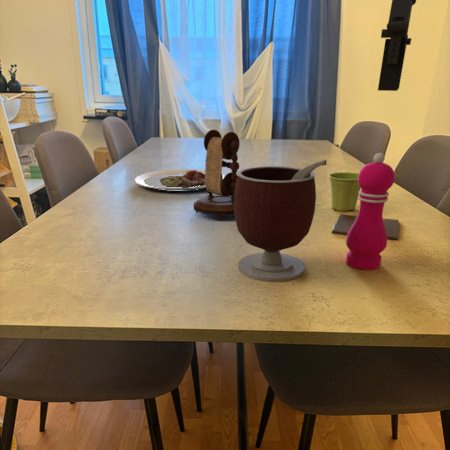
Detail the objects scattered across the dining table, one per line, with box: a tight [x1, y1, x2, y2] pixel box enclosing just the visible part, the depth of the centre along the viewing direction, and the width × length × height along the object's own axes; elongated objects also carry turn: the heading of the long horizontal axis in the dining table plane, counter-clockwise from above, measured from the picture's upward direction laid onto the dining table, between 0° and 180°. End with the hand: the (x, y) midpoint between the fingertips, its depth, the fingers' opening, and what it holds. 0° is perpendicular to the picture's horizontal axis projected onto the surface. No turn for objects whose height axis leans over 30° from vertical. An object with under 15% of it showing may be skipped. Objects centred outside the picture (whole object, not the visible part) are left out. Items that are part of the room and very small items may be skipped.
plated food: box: [134, 168, 226, 191], centre depth 142 cm, size 30×30×3 cm
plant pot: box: [328, 171, 361, 212], centre depth 114 cm, size 9×9×9 cm
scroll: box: [193, 129, 241, 221], centre depth 107 cm, size 15×15×20 cm
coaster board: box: [331, 213, 399, 241], centre depth 101 cm, size 14×14×1 cm
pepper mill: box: [345, 152, 395, 271], centre depth 77 cm, size 7×7×20 cm
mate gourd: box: [234, 159, 327, 283], centre depth 75 cm, size 16×14×20 cm
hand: (389, 90), depth 69 cm, fingers open, 13 cm apart
